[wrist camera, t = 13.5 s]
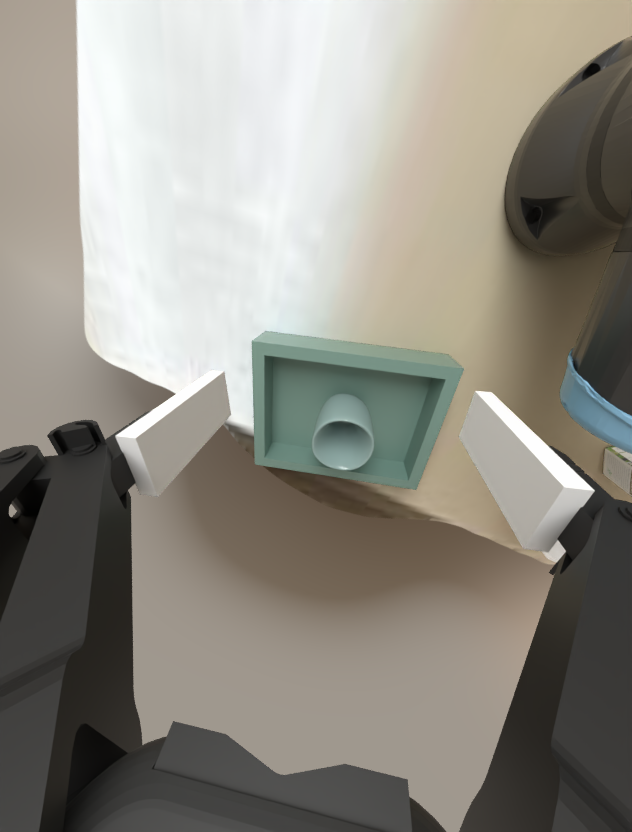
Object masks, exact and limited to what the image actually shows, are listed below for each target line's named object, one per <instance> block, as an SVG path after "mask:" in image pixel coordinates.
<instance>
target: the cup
mask: <svg viewBox="0 0 632 832" xmlns="http://www.w3.org/2000/svg"><path fill="white" fill-rule="evenodd" d="M374 444H375V441H374V431H373V423H372V418H371V415H370V412H369V409H368V407H367V406H366V404H365V403H364V402H363V401H362V400H361V399H360V398H358V397H357V396H354V395H352V394H348V393H338V394H335V395H333V396H331V397H330V398H328V399H327V400H326V401H325V403H324V404H323V406H322V407H321V409H320V411H319V414H318V416H317V420H316V423H315V427H314V432H313V436H312V450H313V453H314V455H315V457H316V458H317V459H318V460H319V461H320V462H321V463H322V464H324V465H326V466H328V467H330V468H333V469H337V470H353V469H357V468H359V467H361V466H362V465H364V464H365V463H366V462H367V461H368V460H369V458H370V457H371V455H372V453H373V450H374Z"/></svg>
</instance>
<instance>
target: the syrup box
mask: <svg viewBox="0 0 632 832" xmlns="http://www.w3.org/2000/svg"><path fill="white" fill-rule="evenodd" d="M603 474H604V475H605V476H606V477H607V478H609V479H610V480H611V481H613V482H614V483H615V484H616V485H618V486H619V487H620V488H622V489H623V490H624V491H625V492H626V493H628V494H629V495H630V496H631V497H632V454H630V453H628V452H626V451H623V450H621V449H619V448H617V447H615V446H613V447H608V448H605V453H604V464H603Z"/></svg>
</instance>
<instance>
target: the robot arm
mask: <svg viewBox="0 0 632 832" xmlns="http://www.w3.org/2000/svg"><path fill="white" fill-rule="evenodd" d="M505 205H506V213H507V218H508V221H509V224H510V227H511V229H512V231H513V233H514V234H515V236H516V237H517V238H518V240H519V241H520V242H521V243H522V244H523V245H525V246H526V247H527V248H529V249H531V250H533V251H535V252H537V253H540V254H544V255H552V256H562V255H576V254H583V253H587V252H591V251H595V250H598V249H601V248H604V247H607V246H609V245H611V244H613V243H616V245H615V247H614V250H613V252H612V253H611V256H610V258H609V261H608V264H607V266H606V269H605V271H604V274H603V276H602V279H601V281H600V284H599V287H598V289H597V292H596V294H595V297H594V299H593V302H592V304H591V307H590V309H589V312H588V315H587V317H586V320H585V322H584V325H583V327H582V330H581V332H580V335H579V337H578V339H577V342H576V344H575V346H574V348H572V349H571V351H570V353H569V355H568V357H567V365H568V366H567V369H566V372H565V376H564V379H563V382H562V385H561V388H560V400H561V403H562V405H563V407H564V408H565V410H566V411H567V412H569V415H570V417H571V418H572V419H573V420H574V421H575V422H577V423H578V424H579V425H580V426H581V427H583V428H584V429H585V430H587V431H588V432H590V433H591V434H593V435H594V436H596V437H598V438H600V439H601V440H603V441H605V442H607V443H609V444H611V445H613V446H615V447H617V448H619V449H621V450H623V451H626V452H628V453H630V454H632V36H631V37H628V38H626V39H624V40H622V41H620V42H618V43H617V44H615V45H613V46H611V47H610V48H608V49H606V50H605V51H603V52H602V53H600V54H599V55H597V56H596V57H595V58H593V59H592V60H591V61H589V62H588V63H587V64H586V65H584V66H583V67H582V68H581V69H580V70H579V71H577V72H576V73H575V74H574V75H573V76H572V77H571V78H569V79H568V80H567V81H566V82H565V83H564V84H563V85H562V86H561V87H560V88H559V89H557V90H556V91H555V92H554V94H553V95H552V96H551V97H550V98H549V99H548V100H547V101H546V103H545V104H544V105H543V106H542V107H541V109H540V110H539V111H538V113H537V114H536V116H535V117H534V118H533V120H532V121H531V123H530V125H529V126H528V128H527V129H526V131H525V133H524V135H523V137H522V139H521V141H520V143H519V145H518V147H517V149H516V152H515V154H514V157H513V160H512V163H511V166H510V169H509V173H508V178H507V183H506V193H505ZM230 415H231V412H230V405H229V399H228V393H227V386H226V380H225V373H224V371H213V370H211V371H209V372H208V373H207V374H205V375H204V376H202V377H201V378H199V379H198V380H196V381H195V382H193V383H192V384H190V385H189V386H188V387H186V388H185V389H183V390H182V391H180V392H179V393H177V394H176V395H174V396H173V397H171V398H170V399H168V400H167V401H166V402H164V403H163V404H161V405H160V406H158V407H157V408H155V409H153V410H151V411H149V412H146V413H144V414H143V415H141V416H140V417H138V418H137V419H136V420H134V421H132V422H131V423H129V425H126V426H125V427H123V428H122V429H121V430H119V431H117V432H116V433H115V434H113V435H111V436H110V437H109V438H107V439H106V440H105V439H104V437H103V434H102V432H101V430H100V428H99V426H98V423H97V422H96V421H93V420H81V421H75V422H72V423H68V424H65V425H62V426H60V427H57V428H56V429H54V430H52V431H51V432H50V433H49V434H48V438H49V439H50V441H51V443H52V445H53V446H54V448H55V450H56V452H57V453H58V455H57V456H45V457H44V456H43V455H42V453H41V451H40V450H39V448H38V447H37V446H34V445H24V446H19V447H12V448H10V449H6V450H3V451H2V452H0V832H446V831H445V830H444V828H443V827H442V826H441V825H440V824H439V823H438V822H437V821H436V819H435V818H434V817H433V816H432V815H430V814H429V813H428V812H427V811H426V810H425V809H424V808H423V807H422V806H421V805H420V804H419V803H417V802H416V801H415V800H413V799H412V798H410V797H409V791H408V780H407V779H403V778H399V777H395V776H391V775H387V774H383V773H379V772H375V771H371V770H367V769H363V768H359V767H355V766H351V765H347V764H343V765H338V766H332V767H327V768H321V769H316V770H311V771H305V772H300V773H294V774H289V775H280V774H277V773H275V772H274V771H272V770H271V769H270V768H269V767H267V766H266V765H264V764H263V763H262V762H261V761H259V760H258V759H257V758H256V757H254V756H253V755H252V754H251V753H249V752H248V751H247V750H245V749H244V748H243V747H242V746H240V745H239V744H238V743H236V742H235V741H234V740H232V739H231V738H230V737H229V736H228V735H226V734H222V733H219V732H215V731H210V730H207V729H203V728H198V727H194V726H190V725H186V724H182V723H178V722H174V721H173V723H172V725H171V728H170V730H169V733H168V735H167V737H162V738H160V739H157V740H154V741H151V742H148V743H146V744H144V745H142V733H141V726H140V720H139V716H138V712H137V709H136V705H135V700H134V691H133V625H132V548H131V497H130V494H129V492H128V489H129V488H130V487H131V486H132V485H134V484H136V486H137V488H138V491H139V493H140V495H148V496H154V497H158V496H159V495H160V494H161V493H162V492H163V491H164V490H165V488H166V487H167V486H168V485H169V484H170V483H171V482H172V481H173V479H174V478H175V477H176V476H177V475H178V474H179V473H180V471H181V470H182V469H183V468H184V467H185V466H186V465H187V464H188V463H189V461H190V460H191V459H192V458H193V457H194V456H195V455H196V454H197V452H198V451H199V450H200V449H201V448H202V447H203V446H204V444H205V443H206V442H207V441H208V440H209V439H210V438H211V437H212V436H213V434H214V433H215V432H216V431H217V430H218V429H219V427H220V426H221V425H222V424H223V423H224V422H225V421H226V420H227V419H228V417H229V416H230ZM459 438H460V440H461V442H462V444H463V445H464V447H465V449H466V450H467V452H468V454H469V456H470V457H471V459H472V461H473V463H474V464H475V466H476V468H477V470H478V471H479V473H480V475H481V476H482V478H483V480H484V482H485V483H486V485H487V487H488V489H489V490H490V492H491V494H492V496H493V497H494V499H495V501H496V502H497V504H498V506H499V508H500V509H501V511H502V513H503V515H504V516H505V518H506V520H507V522H508V523H509V525H510V527H511V528H512V530H513V532H514V534H515V535H516V537H517V539H518V541H519V542H520V544H521V546H522V548H523V549H529V550H536V551H543V552H549V551H550V550H551V548H552V547H553V546H554V544H555V543H556V542H557V540H558V541H559V542H560V544H561V545H562V546H563V548H564V549H565V550H566V552H565V553H564V554H563V556H562V557H561V558H560V559H559V560H558V562H557V563H556V564H555V565H554V567H553V568H552V569H551V570H550V572H549V573H550V574H552V575H554V574H555V575H554V578H553V581H552V584H551V587H550V590H549V593H548V596H547V599H546V602H545V605H544V608H543V611H542V614H541V617H540V619H539V623H538V625H537V628H536V631H535V634H534V637H533V640H532V643H531V646H530V649H529V652H528V655H527V658H526V661H525V664H524V667H523V670H522V673H521V676H520V679H519V682H518V684H517V688H516V690H515V693H514V697H513V700H512V702H511V706H510V708H509V711H508V714H507V717H506V720H505V723H504V726H503V729H502V732H501V735H500V738H499V741H498V744H497V747H496V750H495V753H494V755H493V759H492V761H491V764H490V767H489V770H488V773H487V776H486V778H485V781H484V783H483V785H482V787H481V789H480V790H479V792H478V794H477V795H476V797H475V798H474V800H473V801H472V803H471V805H470V808H469V809H468V811H467V813H466V816H465V818H464V821H463V824H462V826H461V828H460V831H459V832H632V503H630V502H627V501H622V500H616V499H613V498H612V497H611V496H610V495H609V494H608V493H607V492H606V491H605V490H604V489H602V488H601V487H600V486H599V485H598V484H597V483H596V482H595V481H594V480H593V479H592V478H590V477H589V476H588V475H587V474H584V471H583V470H582V469H581V468H579V467H578V466H576V465H575V463H574V462H573V461H572V460H571V459H570V458H569V457H567V456H566V455H565V454H564V453H562V452H560V451H559V450H557V449H555V448H553V447H552V446H547V445H546V444H545V443H544V442H543V441H542V440H541V439H540V438H539V437H538V436H537V435H536V434H535V433H534V432H533V431H532V430H531V429H530V428H528V427H527V426H526V425H525V424H524V423H523V422H522V421H521V420H520V419H519V418H518V417H517V416H516V415H515V414H514V413H513V412H512V411H511V410H510V409H509V408H508V407H506V406H505V405H504V404H503V403H502V402H501V401H500V400H499V399H498V398H497V397H496V396H495V395H494V394H493V393H492V392H482V391H475V393H474V395H473V398H472V401H471V404H470V407H469V410H468V412H467V415H466V418H465V421H464V424H463V427H462V429H461V432H460V435H459ZM10 504H12V505H13V506H14V508H15V509H16V510H17V512H16V514H15V515H14V516H13V517H12V518H11V517H10V516H9V506H10Z"/></svg>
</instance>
